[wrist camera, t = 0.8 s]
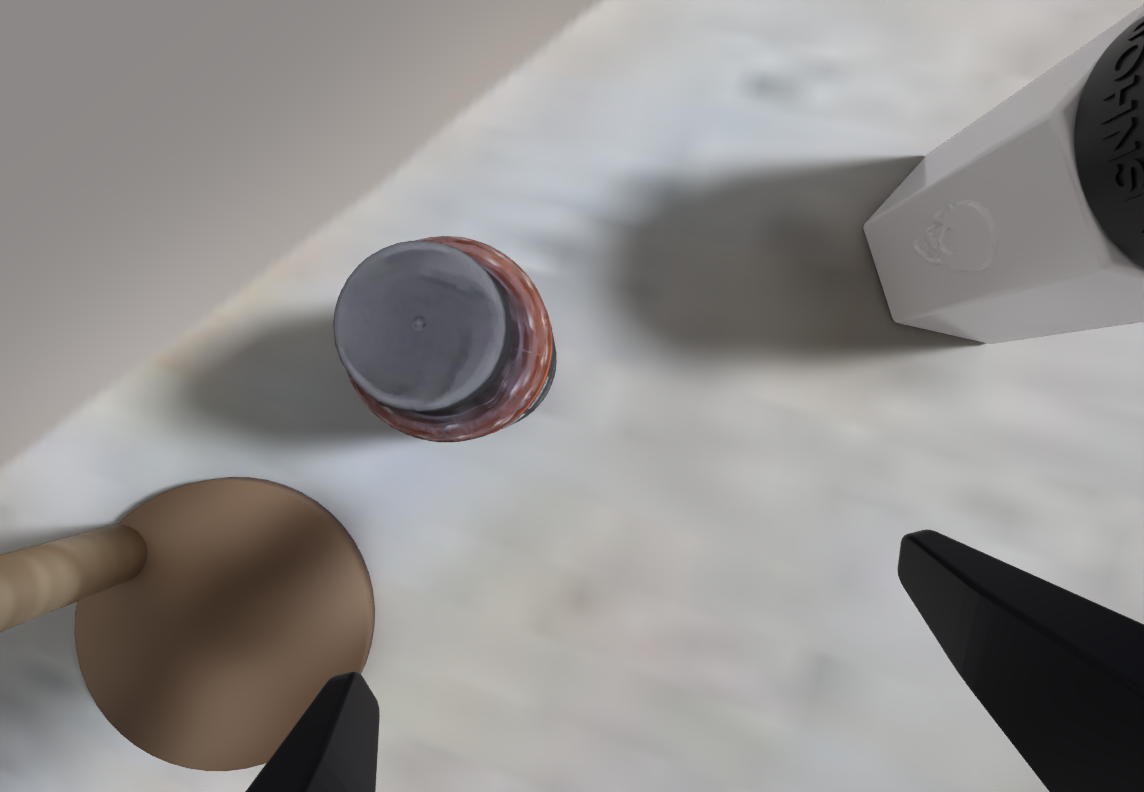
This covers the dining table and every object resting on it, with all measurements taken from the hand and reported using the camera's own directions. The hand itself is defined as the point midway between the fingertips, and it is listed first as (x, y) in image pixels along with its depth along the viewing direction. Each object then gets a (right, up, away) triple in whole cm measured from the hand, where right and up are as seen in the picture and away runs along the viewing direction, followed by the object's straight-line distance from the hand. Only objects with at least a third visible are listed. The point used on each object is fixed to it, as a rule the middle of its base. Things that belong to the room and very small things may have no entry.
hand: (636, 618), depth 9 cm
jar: (+16, +10, +15) cm, 25 cm away
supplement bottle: (-5, +5, +15) cm, 16 cm away
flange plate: (-16, -6, +14) cm, 22 cm away
